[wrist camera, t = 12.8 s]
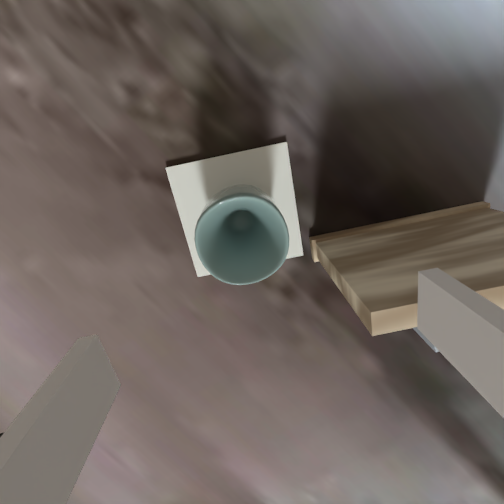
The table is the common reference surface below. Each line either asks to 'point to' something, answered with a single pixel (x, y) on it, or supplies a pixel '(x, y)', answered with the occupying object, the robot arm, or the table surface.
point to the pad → (233, 173)
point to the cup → (241, 235)
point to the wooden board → (413, 261)
